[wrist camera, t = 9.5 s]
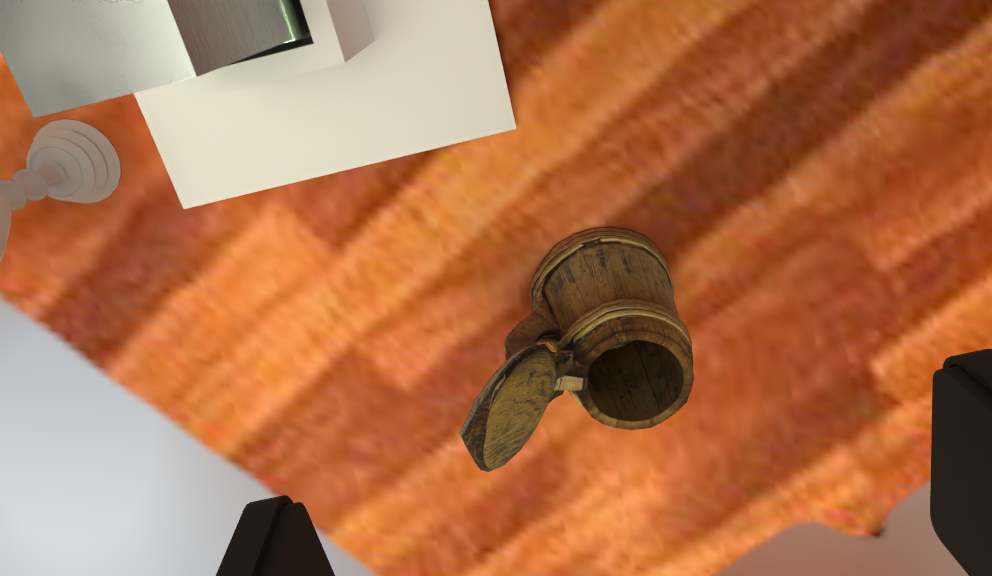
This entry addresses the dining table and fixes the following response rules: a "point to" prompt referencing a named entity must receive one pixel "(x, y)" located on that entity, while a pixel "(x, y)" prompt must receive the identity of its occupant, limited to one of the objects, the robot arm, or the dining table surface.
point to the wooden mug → (588, 345)
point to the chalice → (61, 170)
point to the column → (132, 44)
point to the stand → (333, 98)
